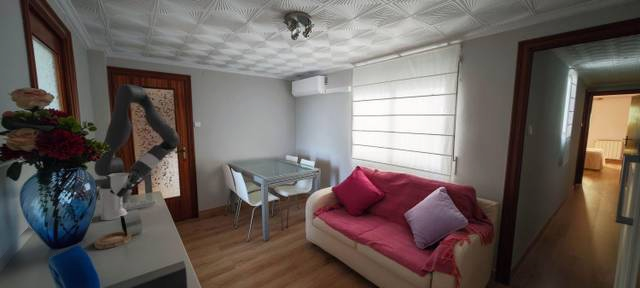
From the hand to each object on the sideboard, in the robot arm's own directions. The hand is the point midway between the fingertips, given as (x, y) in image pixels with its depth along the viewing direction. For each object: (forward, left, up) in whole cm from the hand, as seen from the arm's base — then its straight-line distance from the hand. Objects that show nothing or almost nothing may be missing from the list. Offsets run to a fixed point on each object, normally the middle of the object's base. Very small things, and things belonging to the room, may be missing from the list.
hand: (114, 194), depth 102 cm
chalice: (0, +2, -10) cm, 10 cm away
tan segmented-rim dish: (-2, -1, -22) cm, 22 cm away
